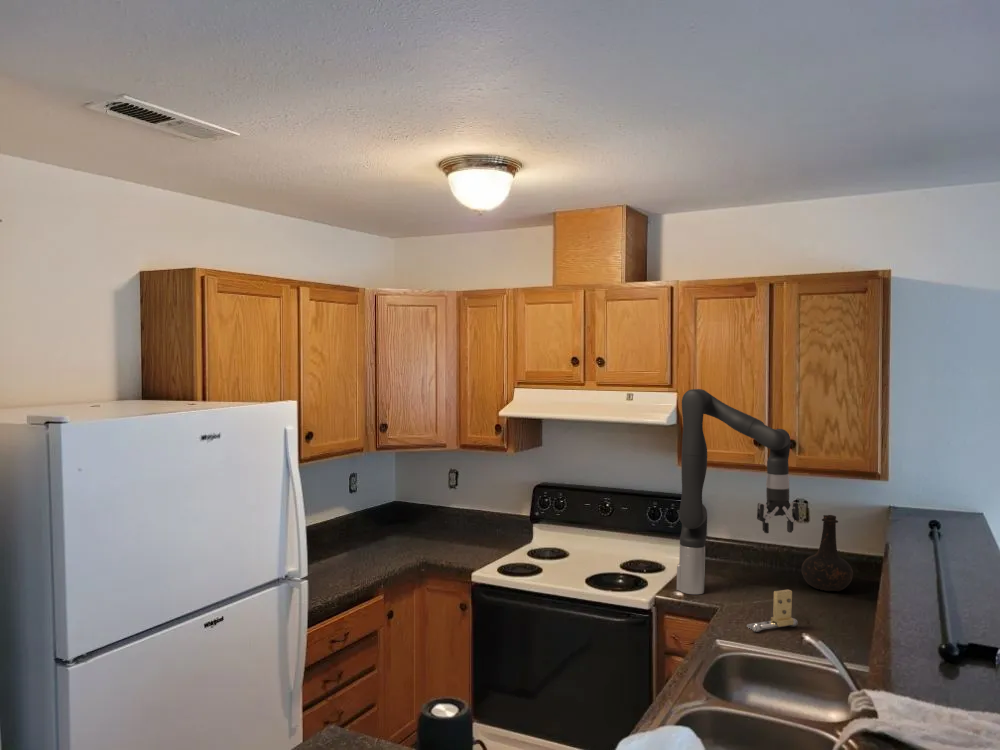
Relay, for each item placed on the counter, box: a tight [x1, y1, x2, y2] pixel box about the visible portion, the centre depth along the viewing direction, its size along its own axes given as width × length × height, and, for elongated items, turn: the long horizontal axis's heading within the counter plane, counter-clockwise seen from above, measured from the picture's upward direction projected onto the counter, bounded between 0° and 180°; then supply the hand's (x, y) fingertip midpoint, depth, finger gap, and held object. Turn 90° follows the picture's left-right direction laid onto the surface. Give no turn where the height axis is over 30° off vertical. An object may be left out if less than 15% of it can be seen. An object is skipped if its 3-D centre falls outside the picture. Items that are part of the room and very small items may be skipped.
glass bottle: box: [801, 514, 854, 592], centre depth 285 cm, size 18×18×28 cm
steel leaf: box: [746, 617, 799, 633], centre depth 241 cm, size 17×6×3 cm, turn 112°
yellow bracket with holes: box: [770, 589, 794, 628], centre depth 241 cm, size 6×4×11 cm, turn 112°
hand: (778, 532), depth 261 cm, fingers open, 8 cm apart
